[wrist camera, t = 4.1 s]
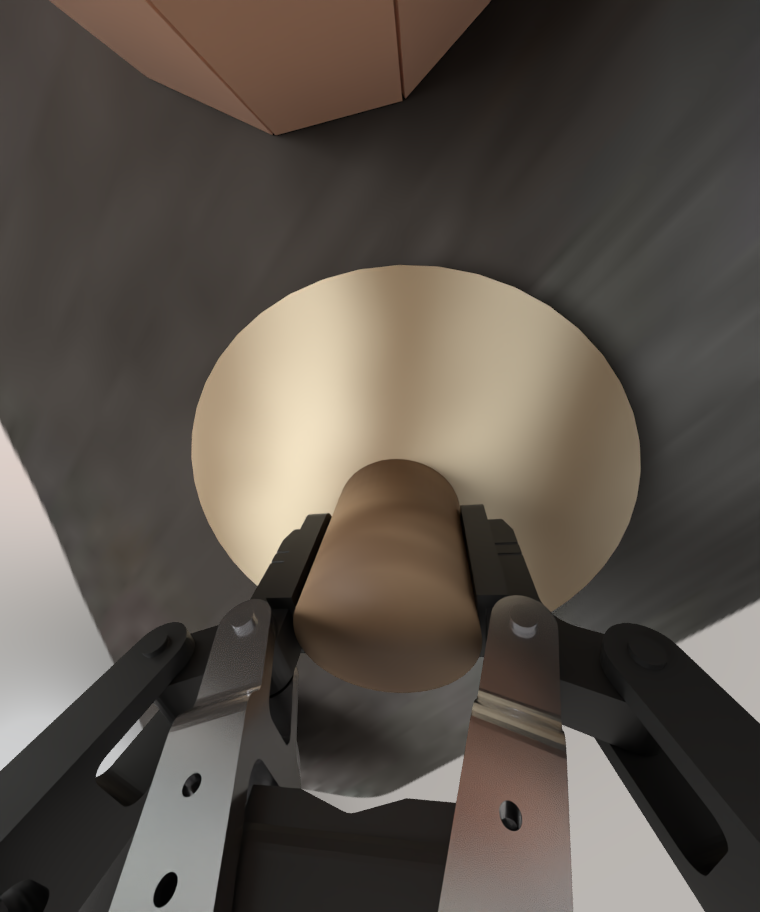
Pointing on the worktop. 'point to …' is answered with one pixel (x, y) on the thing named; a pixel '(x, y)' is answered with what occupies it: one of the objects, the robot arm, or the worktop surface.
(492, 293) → the lid
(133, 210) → the worktop surface
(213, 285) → the worktop surface
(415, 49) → the bowl
